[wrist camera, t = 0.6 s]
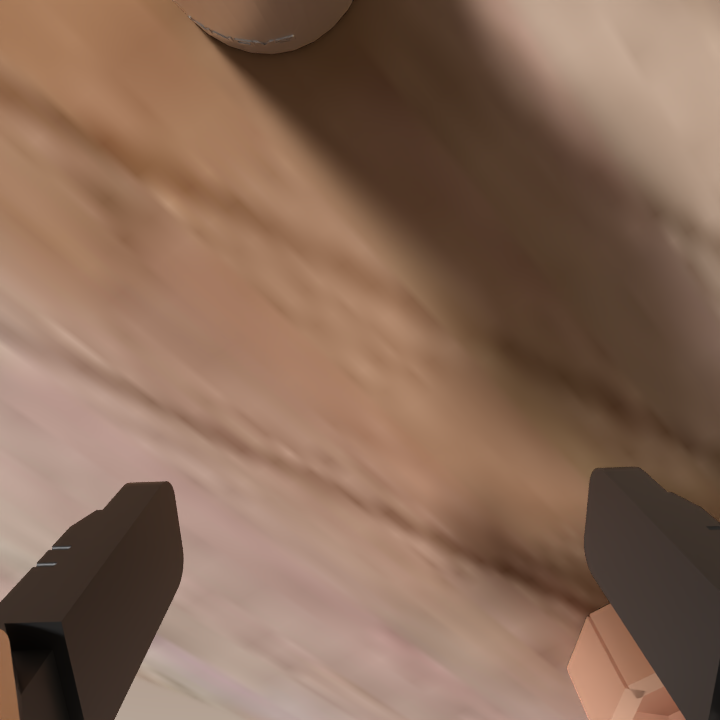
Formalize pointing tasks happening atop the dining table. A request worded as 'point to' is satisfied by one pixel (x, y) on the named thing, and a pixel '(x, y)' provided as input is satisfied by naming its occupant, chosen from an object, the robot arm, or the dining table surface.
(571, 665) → the bowl
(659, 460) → the dining table surface
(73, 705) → the robot arm
